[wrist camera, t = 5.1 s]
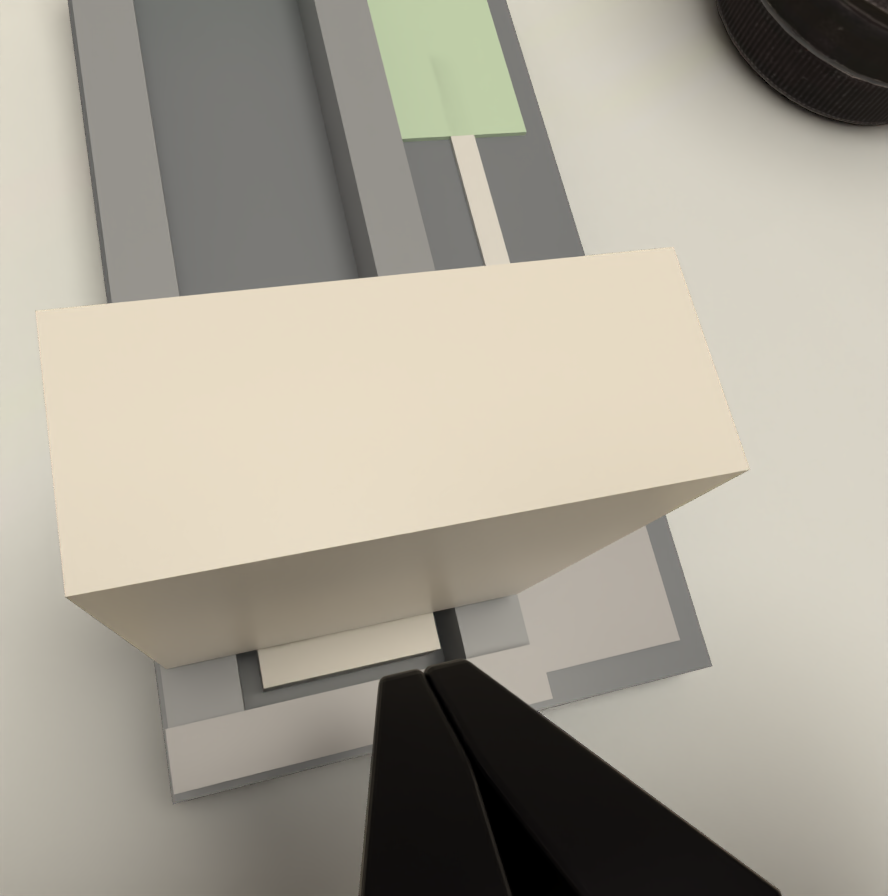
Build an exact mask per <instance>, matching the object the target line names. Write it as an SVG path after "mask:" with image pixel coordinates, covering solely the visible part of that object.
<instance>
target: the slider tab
mask: <svg viewBox="0 0 888 896" xmlns="http://www.w3.org/2000/svg"><path fill="white" fill-rule="evenodd" d="M35 312H36V322H37V332H38V341H39V351H40V360H41V370H42V380H43V389H44V399H45V409H46V418H47V428H48V437H49V447H50V457H51V466H52V476H53V485H54V495H55V505H56V514H57V524H58V533H59V543H60V553H61V562H62V572H63V582H64V591H65V597H66V598H67V599H69V600H70V601H72V602H73V603H74V604H76V605H77V606H79V607H80V608H81V609H83V610H84V611H86V612H87V613H88V614H90V615H91V616H93V617H94V618H95V619H97V620H98V621H100V622H101V623H102V624H104V625H105V626H107V627H108V628H109V629H111V630H112V631H114V632H115V633H116V634H118V635H119V636H121V637H122V638H123V639H125V640H126V641H128V642H129V643H130V644H132V645H133V646H135V647H136V648H137V649H139V650H140V651H142V652H143V653H144V654H146V655H147V656H149V657H150V658H151V659H153V660H154V661H156V662H157V663H158V664H160V665H161V666H163V667H164V668H165V669H169V668H174V667H179V666H183V665H188V664H193V663H197V662H202V661H207V660H211V659H216V658H221V657H225V656H230V655H235V654H239V653H244V652H249V651H253V650H256V651H257V657H258V663H259V669H260V675H261V682H262V688H263V692H266V691H271V690H275V689H279V688H284V687H288V686H293V685H297V684H301V683H306V682H310V681H315V680H319V679H323V678H328V677H332V676H337V675H341V674H345V673H350V672H354V671H358V670H363V669H367V668H372V667H376V666H380V665H385V664H389V663H394V662H398V661H402V660H407V659H411V658H416V657H420V656H424V655H428V654H430V653H432V652H434V651H436V650H439V649H441V647H440V643H439V638H438V634H437V629H436V625H435V621H434V616H433V612H436V611H440V610H445V609H450V608H454V607H459V606H464V605H468V604H473V603H478V602H482V601H487V600H492V599H496V598H501V597H506V596H510V595H515V594H518V593H520V592H522V591H524V590H526V589H528V588H529V587H531V586H533V585H535V584H537V583H539V582H541V581H543V580H544V579H546V578H548V577H550V576H552V575H554V574H556V573H557V572H559V571H561V570H563V569H565V568H567V567H569V566H571V565H572V564H574V563H576V562H578V561H580V560H582V559H584V558H585V557H587V556H589V555H591V554H593V553H595V552H597V551H599V550H600V549H602V548H604V547H606V546H608V545H610V544H612V543H614V542H615V541H617V540H619V539H621V538H623V537H625V536H627V535H628V534H630V533H632V532H634V531H636V530H638V529H640V528H642V527H643V526H645V525H647V524H649V523H651V522H653V521H655V520H657V519H658V518H660V517H662V516H664V515H666V514H668V513H670V512H671V511H673V510H675V509H677V508H679V507H681V506H683V505H685V504H686V503H688V502H690V501H692V500H694V499H696V498H698V497H699V496H701V495H703V494H705V493H707V492H709V491H711V490H713V489H714V488H716V487H718V486H720V485H722V484H724V483H726V482H728V481H729V480H731V479H733V478H735V477H737V476H739V475H741V474H742V473H744V472H746V471H748V470H750V468H749V465H748V462H747V459H746V456H745V453H744V450H743V447H742V445H741V442H740V439H739V436H738V433H737V430H736V427H735V424H734V421H733V418H732V415H731V413H730V410H729V407H728V404H727V401H726V398H725V395H724V392H723V389H722V386H721V383H720V381H719V378H718V375H717V372H716V369H715V366H714V363H713V360H712V357H711V354H710V351H709V349H708V346H707V343H706V340H705V337H704V334H703V331H702V328H701V325H700V322H699V319H698V317H697V314H696V311H695V308H694V305H693V302H692V299H691V296H690V293H689V290H688V287H687V285H686V282H685V279H684V276H683V273H682V270H681V267H680V264H679V261H678V258H677V255H676V253H675V250H674V247H669V248H659V249H649V250H639V251H629V252H619V253H609V254H599V255H589V256H579V257H569V258H559V259H549V260H539V261H529V262H519V263H509V264H499V265H489V266H479V267H469V268H459V269H449V270H439V271H429V272H419V273H409V274H399V275H389V276H379V277H369V278H359V279H349V280H339V281H329V282H319V283H309V284H299V285H289V286H279V287H269V288H259V289H249V290H239V291H229V292H219V293H209V294H199V295H189V296H179V297H169V298H159V299H149V300H139V301H129V302H119V303H109V304H99V305H89V306H79V307H69V308H59V309H49V310H39V311H35Z"/></svg>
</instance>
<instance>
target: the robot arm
mask: <svg viewBox="0 0 888 896" xmlns="http://www.w3.org/2000/svg"><path fill="white" fill-rule="evenodd" d="M358 896H782V894H781V892H780V890H779V889H777V888H776V887H775V886H773V885H772V884H771V883H769V882H768V881H767V880H765V879H764V878H763V877H761V876H760V875H758V874H757V873H756V872H754V871H753V870H752V869H750V868H749V867H748V866H746V865H745V864H744V863H742V862H741V861H740V860H738V859H737V858H735V857H734V856H733V855H731V854H730V853H729V852H727V851H726V850H725V849H723V848H722V847H721V846H719V845H718V844H716V843H715V842H714V841H712V840H711V839H710V838H708V837H707V836H706V835H704V834H703V833H702V832H700V831H699V830H698V829H696V828H695V827H693V826H692V825H691V824H689V823H688V822H687V821H685V820H684V819H683V818H681V817H680V816H679V815H677V814H676V813H675V812H673V811H672V810H670V809H669V808H668V807H666V806H665V805H664V804H662V803H661V802H660V801H658V800H657V799H656V798H654V797H653V796H652V795H650V794H649V793H647V792H646V791H645V790H643V789H642V788H641V787H639V786H638V785H637V784H635V783H634V782H633V781H631V780H630V779H628V778H627V777H626V776H624V775H623V774H622V773H620V772H619V771H618V770H616V769H615V768H614V767H612V766H611V765H610V764H608V763H607V762H605V761H604V760H603V759H601V758H600V757H599V756H597V755H596V754H595V753H593V752H592V751H591V750H589V749H588V748H587V747H585V746H584V745H582V744H581V743H580V742H578V741H577V740H576V739H574V738H573V737H572V736H570V735H569V734H568V733H566V732H565V731H563V730H562V729H561V728H559V727H558V726H557V725H555V724H554V723H553V722H551V721H550V720H549V719H547V718H546V717H545V716H543V715H542V714H540V713H539V712H538V711H536V710H535V709H534V708H532V707H531V706H530V705H528V704H527V703H526V702H524V701H523V700H522V699H520V698H519V697H517V696H516V695H515V694H513V693H512V692H511V691H509V690H508V689H507V688H505V687H504V686H503V685H501V684H500V683H498V682H497V681H496V680H494V679H493V678H492V677H490V676H489V675H488V674H486V673H485V672H484V671H482V670H481V669H480V668H478V667H477V666H475V665H474V664H473V663H471V662H470V661H468V660H465V659H455V660H451V661H447V662H442V663H438V664H434V665H430V666H428V667H427V668H426V669H425V670H424V671H423V672H422V671H421V670H418V669H412V670H408V671H404V672H399V673H395V674H391V675H386V676H384V677H382V678H381V679H380V681H379V684H378V692H377V703H376V714H375V724H374V735H373V746H372V756H371V767H370V778H369V788H368V799H367V810H366V820H365V831H364V842H363V853H362V863H361V874H360V885H359V895H358Z"/></svg>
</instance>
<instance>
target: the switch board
mask: <svg viewBox="0 0 888 896" xmlns="http://www.w3.org/2000/svg"><path fill="white" fill-rule="evenodd" d="M68 5H69V13H70V21H71V28H72V36H73V44H74V51H75V59H76V66H77V74H78V82H79V89H80V97H81V105H82V112H83V120H84V128H85V135H86V143H87V151H88V158H89V166H90V174H91V181H92V189H93V197H94V204H95V212H96V220H97V227H98V235H99V243H100V250H101V258H102V266H103V273H104V281H105V289H106V296H107V304H109V303H119V302H129V301H139V300H149V299H159V298H169V297H179V296H189V295H199V294H209V293H219V292H229V291H239V290H249V289H259V288H269V287H279V286H289V285H299V284H309V283H319V282H329V281H339V280H349V279H359V278H369V277H379V276H389V275H399V274H409V273H419V272H429V271H439V270H449V269H459V268H469V267H479V266H489V265H499V264H509V263H519V262H529V261H539V260H549V259H559V258H569V257H579V256H585V254H584V251H583V247H582V244H581V241H580V238H579V235H578V231H577V228H576V225H575V222H574V218H573V215H572V212H571V209H570V206H569V202H568V199H567V196H566V193H565V189H564V186H563V183H562V180H561V176H560V173H559V170H558V167H557V164H556V160H555V157H554V154H553V151H552V147H551V144H550V141H549V138H548V135H547V131H546V128H545V125H544V122H543V118H542V115H541V112H540V109H539V105H538V102H537V99H536V96H535V93H534V89H533V86H532V83H531V80H530V76H529V73H528V70H527V67H526V64H525V60H524V57H523V54H522V51H521V47H520V44H519V41H518V38H517V35H516V31H515V28H514V25H513V22H512V18H511V15H510V12H509V9H508V5H507V2H506V0H68ZM433 616H434V621H435V625H436V629H437V634H438V638H439V643H440V647H441V649H439V650H436V651H434V652H432V653H430V654H428V655H424V656H420V657H416V658H411V659H407V660H402V661H398V662H394V663H389V664H385V665H380V666H376V667H372V668H367V669H363V670H358V671H354V672H350V673H345V674H341V675H337V676H332V677H328V678H323V679H319V680H315V681H310V682H306V683H301V684H297V685H293V686H288V687H284V688H279V689H275V690H271V691H266V692H263V688H262V682H261V675H260V669H259V663H258V657H257V651H256V650H253V651H249V652H244V653H239V654H235V655H230V656H225V657H221V658H216V659H211V660H207V661H202V662H197V663H193V664H188V665H183V666H179V667H174V668H169V669H165V668H164V667H163V666H161V665H160V664H158V663H157V662H156V661H154V664H155V672H156V679H157V687H158V695H159V702H160V710H161V718H162V725H163V733H164V741H165V748H166V756H167V763H168V771H169V779H170V786H171V794H172V802H173V804H176V803H180V802H183V801H187V800H191V799H195V798H199V797H203V796H207V795H211V794H215V793H219V792H222V791H226V790H230V789H234V788H238V787H242V786H246V785H250V784H254V783H258V782H262V781H265V780H269V779H273V778H277V777H281V776H285V775H289V774H293V773H297V772H301V771H305V770H308V769H312V768H316V767H320V766H324V765H328V764H332V763H336V762H340V761H344V760H347V759H351V758H355V757H359V756H363V755H367V754H371V753H372V746H373V735H374V724H375V714H376V703H377V692H378V684H379V681H380V679H381V678H382V677H384V676H386V675H391V674H395V673H399V672H404V671H408V670H412V669H418V670H421V671H422V672H423V671H424V670H425V669H426V668H427V667H428V666H430V665H434V664H438V663H442V662H447V661H451V660H455V659H465V660H468V661H470V662H471V663H473V664H474V665H475V666H477V667H478V668H480V669H481V670H482V671H484V672H485V673H486V674H488V675H489V676H490V677H492V678H493V679H494V680H496V681H497V682H498V683H500V684H501V685H503V686H504V687H505V688H507V689H508V690H509V691H511V692H512V693H513V694H515V695H516V696H517V697H519V698H520V699H522V700H523V701H524V702H526V703H527V704H528V705H530V706H531V707H532V708H534V709H535V710H536V711H539V710H543V709H547V708H551V707H554V706H558V705H562V704H566V703H570V702H574V701H578V700H582V699H586V698H590V697H594V696H597V695H601V694H605V693H609V692H613V691H617V690H621V689H625V688H629V687H633V686H637V685H640V684H644V683H648V682H652V681H656V680H660V679H664V678H668V677H672V676H676V675H679V674H683V673H687V672H691V671H695V670H699V669H703V668H707V667H711V666H712V664H711V661H710V657H709V654H708V651H707V648H706V644H705V641H704V638H703V635H702V631H701V628H700V625H699V622H698V619H697V615H696V612H695V609H694V606H693V602H692V599H691V596H690V593H689V590H688V586H687V583H686V580H685V577H684V573H683V570H682V567H681V564H680V560H679V557H678V554H677V551H676V548H675V544H674V541H673V538H672V535H671V531H670V528H669V525H668V522H667V519H666V515H664V516H662V517H660V518H658V519H657V520H655V521H653V522H651V523H649V524H647V525H645V526H643V527H642V528H640V529H638V530H636V531H634V532H632V533H630V534H628V535H627V536H625V537H623V538H621V539H619V540H617V541H615V542H614V543H612V544H610V545H608V546H606V547H604V548H602V549H600V550H599V551H597V552H595V553H593V554H591V555H589V556H587V557H585V558H584V559H582V560H580V561H578V562H576V563H574V564H572V565H571V566H569V567H567V568H565V569H563V570H561V571H559V572H557V573H556V574H554V575H552V576H550V577H548V578H546V579H544V580H543V581H541V582H539V583H537V584H535V585H533V586H531V587H529V588H528V589H526V590H524V591H522V592H520V593H518V594H515V595H510V596H506V597H501V598H496V599H492V600H487V601H482V602H478V603H473V604H468V605H464V606H459V607H454V608H450V609H445V610H440V611H436V612H433Z"/></svg>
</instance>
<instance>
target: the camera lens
mask: <svg viewBox="0 0 888 896" xmlns="http://www.w3.org/2000/svg"><path fill="white" fill-rule="evenodd" d="M717 5H718V11H719V14H720V16H721V18H722V21H723V23H724V25H725V27H726V30H727V32H728V34H729V36H730V38H731V40H732V41H733V43H734V44H735V46H736V47H737V49H738V51H739V52H740V54H741V55H742V56H743V58H744V59H745V60H746V61H747V62H748V63H749V65H750V66H751V67H752V68H753V69H754V70H755V71H756V72H757V73H758V74H759V75H760V76H761V77H762V78H763V79H764V80H765V81H766V82H768V83H769V84H770V85H771V86H772V87H773V88H774V89H776V90H777V91H779V92H780V93H782V94H783V95H784V96H786V97H787V98H789V99H790V100H792V101H793V102H795V103H797V104H799V105H801V106H802V107H804V108H806V109H808V110H810V111H812V112H815V113H817V114H820V115H822V116H825V117H828V118H832V119H836V120H840V121H844V122H848V123H852V124H867V125H874V124H885V123H888V0H717Z"/></svg>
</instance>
